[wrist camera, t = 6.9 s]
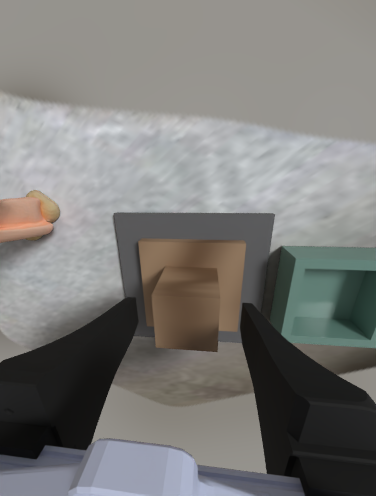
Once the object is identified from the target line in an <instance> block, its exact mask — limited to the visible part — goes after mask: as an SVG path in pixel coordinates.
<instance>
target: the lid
mask: <svg viewBox="0 0 376 496" xmlns="http://www.w3.org/2000/svg"><path fill="white" fill-rule="evenodd" d="M138 244H139V254H140V264H141V274H142V283H143V293H144V303H145V313H146V323H147V326H152V327H154V331H155V342H156V348H169V349H183V350H196V351H210V352H217V350H218V332H219V331H232V332H237V331H238V321H239V311H240V301H241V291H242V281H243V271H244V261H245V251H246V243H245V241H244V240H196V239H146V238H142V239H140V240H139V241H138Z"/></svg>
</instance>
